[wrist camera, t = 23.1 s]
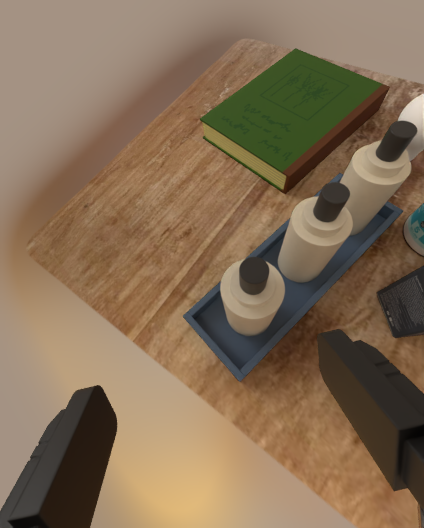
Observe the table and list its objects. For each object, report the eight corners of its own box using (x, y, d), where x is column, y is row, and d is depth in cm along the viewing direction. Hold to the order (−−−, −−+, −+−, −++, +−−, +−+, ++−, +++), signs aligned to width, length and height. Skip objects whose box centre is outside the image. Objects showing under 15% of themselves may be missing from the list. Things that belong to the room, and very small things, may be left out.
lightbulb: (372, 150, 40) (416, 75, 30) (415, 157, 39) (476, 80, 29) (368, 179, 38) (413, 109, 28) (413, 187, 36) (478, 116, 26)
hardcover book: (285, 194, 38) (289, 176, 35) (203, 138, 45) (199, 118, 42) (380, 107, 44) (392, 84, 40) (294, 68, 50) (298, 46, 47)
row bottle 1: (302, 291, 31) (343, 234, 19) (268, 262, 34) (285, 193, 21) (330, 262, 33) (388, 190, 20) (296, 236, 35) (328, 155, 22)
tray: (239, 381, 29) (239, 382, 26) (186, 320, 32) (182, 316, 30) (392, 222, 35) (403, 210, 32) (333, 184, 38) (339, 172, 36)
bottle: (249, 346, 30) (255, 324, 17) (217, 312, 32) (200, 269, 19) (281, 313, 31) (310, 269, 18) (248, 282, 33) (253, 223, 20)
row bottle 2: (349, 243, 33) (416, 162, 21) (315, 219, 35) (356, 131, 23) (375, 217, 35) (453, 125, 22) (340, 195, 37) (393, 99, 24)
